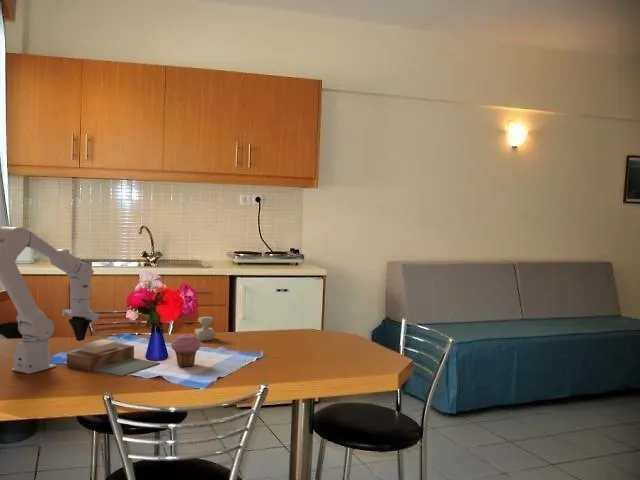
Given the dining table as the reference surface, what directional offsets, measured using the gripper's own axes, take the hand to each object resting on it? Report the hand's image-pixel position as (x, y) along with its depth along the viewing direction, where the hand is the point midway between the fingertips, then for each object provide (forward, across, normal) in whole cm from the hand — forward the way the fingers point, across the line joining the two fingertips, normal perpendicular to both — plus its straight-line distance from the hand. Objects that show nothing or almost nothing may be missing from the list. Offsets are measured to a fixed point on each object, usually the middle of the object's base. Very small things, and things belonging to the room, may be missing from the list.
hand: (80, 340), depth 193 cm
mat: (+6, -20, 0) cm, 21 cm away
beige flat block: (+2, -8, 0) cm, 9 cm away
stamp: (+6, -18, -42) cm, 46 cm away
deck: (+6, -10, 0) cm, 11 cm away
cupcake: (+6, -34, -11) cm, 37 cm away
